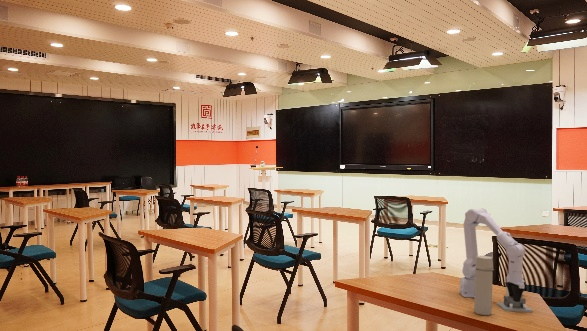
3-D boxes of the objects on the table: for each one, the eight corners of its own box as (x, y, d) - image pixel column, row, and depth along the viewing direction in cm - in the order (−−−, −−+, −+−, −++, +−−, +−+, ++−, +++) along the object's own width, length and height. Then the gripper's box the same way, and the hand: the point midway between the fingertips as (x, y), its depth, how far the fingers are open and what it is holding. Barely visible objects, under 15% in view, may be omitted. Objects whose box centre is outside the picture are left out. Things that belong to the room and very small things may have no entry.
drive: (507, 306, 202) (507, 297, 202) (503, 304, 206) (504, 295, 206) (525, 307, 201) (525, 298, 201) (521, 305, 205) (521, 296, 205)
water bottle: (486, 317, 190) (488, 259, 190) (469, 312, 196) (471, 256, 196) (497, 313, 195) (499, 257, 195) (481, 308, 201) (482, 254, 201)
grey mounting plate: (505, 310, 199) (505, 304, 199) (497, 304, 208) (497, 298, 208) (532, 312, 199) (532, 305, 199) (523, 305, 208) (523, 299, 208)
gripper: (531, 274, 196) (530, 305, 196) (517, 267, 210) (516, 295, 210) (515, 274, 196) (514, 304, 196) (502, 266, 211) (501, 294, 211)
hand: (514, 299), depth 203 cm, fingers open, 4 cm apart
